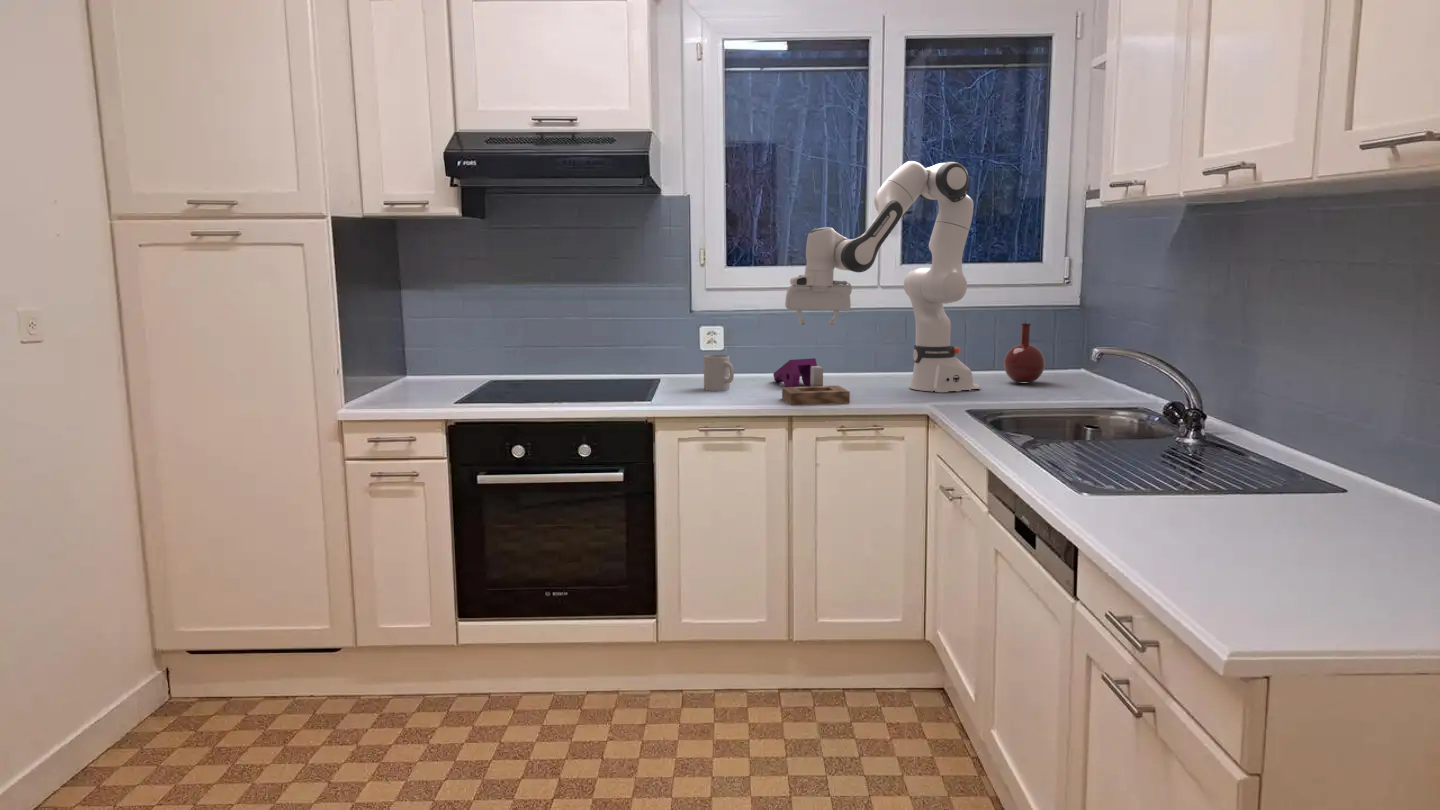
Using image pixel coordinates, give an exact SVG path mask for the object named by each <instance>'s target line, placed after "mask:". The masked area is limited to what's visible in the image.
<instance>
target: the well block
mask: <svg viewBox="0 0 1440 810" xmlns="http://www.w3.org/2000/svg"><path fill="white" fill-rule="evenodd" d="M781 389H782V390H781V391H782V392H781V393H782V394H781V397H782V398H783V399H782V398H781V399H782V400H784V401H785V402H786V401H787V402H786V403H788V404H789V405H790V404H791V406H802V405H803V404H807V405H829V404H828V403H835V404H850V397H851V396H850V391H849V390H848V389H846V388H844V387H842V386H840V385H839V384H838V385H823V386H797V387H786V386H785V387H784V386H782V388H781ZM803 406H804V405H803Z"/></svg>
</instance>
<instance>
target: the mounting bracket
mask: <svg viewBox="0 0 1440 810" xmlns="http://www.w3.org/2000/svg"><path fill="white" fill-rule="evenodd" d="M816 359H817V358H816V357H814V358H799V359H789V360H788V361H787V362H785V363H784V364H783V365H782V366H781V367H779V368H778V369H777V370H776V371H775V372H773V379H774V382H777V381H780V382H783V383H784V386H785V387H799V385H800V379H801V380H802V384H803V385H804V387H807V386H810V375H811V366H818V364H817V360H816ZM800 377H801V378H800Z"/></svg>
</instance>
